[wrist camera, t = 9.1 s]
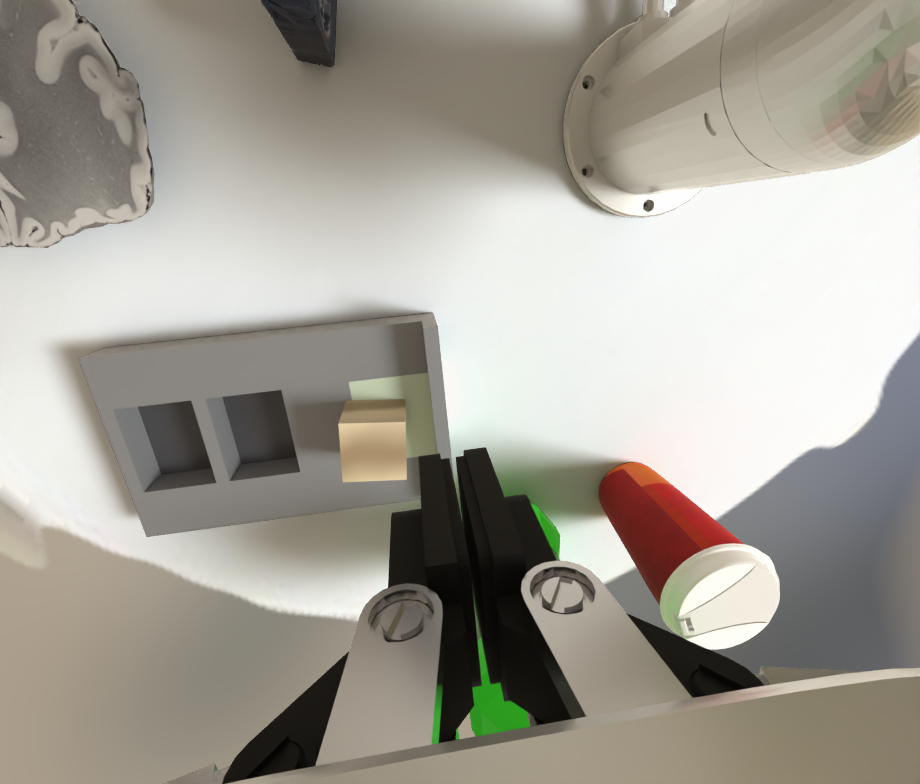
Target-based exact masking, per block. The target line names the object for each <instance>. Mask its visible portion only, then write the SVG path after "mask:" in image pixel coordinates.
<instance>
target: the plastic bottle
mask: <svg viewBox="0 0 920 784" xmlns="http://www.w3.org/2000/svg"><path fill="white" fill-rule="evenodd" d="M530 503H531V502H530ZM531 505H532V508H533V510H534V512H535V514H536V516H537V518H538V521H539V523H540V525H541V527H542V529H543V531H544V534H545V536H546V538H547V540H548V542H549V545H550V547H551V549H552V551H553V553H554V555H555V558H556V560H557V561H560V560H559V549H560V534H559V533H558V531H557V529H556V527H555V526H554V525H553V524H552V522H551V521H550V520H549V519H548V518H547V517H546V516H545V515H544V513H543V512H542V511H541V510H540V509H539V508H538V507H537V506H536V505H534V504H533V503H531ZM462 525H463V523H462ZM473 599H474V596H473ZM474 610H475V620H476V630H477V640H478V651H479V661H480V671H481V681H482V686H478V687H473V688H472V689H473V699H474V707H473V708H472V709H471V711H470V719H471V726H472V730H473V732H474V734H475V736H482V735H487V734H493V733H498V732H504V731H509V730H515V729H520V728H526V727H530V725H529V720H528V714H527V711H525V710H524V709H522V708H521V707H519V706H518V705H516V704H515V703H513V702H511V701H506V702H504V698H503V693H502V689H501V684H500V683H496V684H490V680H489V675H488V670H487V665H486V660H485V654H484V649H483V644H482V638H481V633H480V628H479V622H478V617H477V612H476V607H475V601H474Z"/></svg>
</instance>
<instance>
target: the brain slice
mask: <svg viewBox="0 0 920 784" xmlns="http://www.w3.org/2000/svg"><path fill="white" fill-rule="evenodd" d="M153 185H154V169H153V163H152V157H151V154H150V151H149V147H148V134H147V127H146V120H145V113H144V107H143V102H142V100H141V99H140V92H139V85H138V83H137V81H136V79H135V78H134V76H133V74H132V73H131V72H129V71H128V70H126V69H124V68H120V66H119V63H118V61H117V60H116V58H115V56H114V55H113V53H112V52H111V50H110V49H109V47H108V46H107V44H106V43H105V41H104V39H103V38H102V36H101V34H100V32H99V31H98V29H97V28H96V27H95V25H93V24H91V23H90V22H89V21H88V20H87V19H86V18H85V17H84V16H80V15H79V14H78V11H77V9H76V7H75V5H74V4H73V2H72V1H71V0H0V247H8V246H11V245H14V246H15V247H42V248H48V247H50V246H52V245H54V244H56V243H58V242H59V241H60V240H61V239H63V238H65V237H67V236H73V235H75V234H77V233H79V232H81V231H82V230H84V229H87V228H94V227H100V226H104V225H106V224H108V223H111V224H119V223H124V222H129V221H132V220H135V219H137V218H139V217H141V216H143V215H145V214H146V213H147V212H148V210H149V209H150V207H151V206H152V204H153V202H154V186H153Z"/></svg>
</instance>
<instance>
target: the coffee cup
mask: <svg viewBox="0 0 920 784" xmlns="http://www.w3.org/2000/svg"><path fill="white" fill-rule="evenodd" d="M598 494H599V500H600V503H601V506H602V508H603V510H604V511H605V513H606V515H607V517H608V519H609V520H610V522H611V524H612V525H613V527H614V529H615V531H616V532H617V534H618V536H619V537H620V539H621V541H622V542H623V544H624V546H625V548H626V549H627V551H628V553H629V554H630V556H631V558H632V560H633V561H634V563H635V565H636V567H637V568H638V570H639V572H640V574H641V575H642V577H643V579H644V581H645V583H646V584H647V586H648V588H649V589H650V591H651V592H652V594H653V596H654V597H655V599H656V601H657V602H658V604H659V605H660V612H661V616H662V618H663V620H664V622H665V624H666V625H667V626H668V627H669V628H670V629H671V630H672V631H673V632H674V633H676V634H678V635H680V636H682V637H683V638H684V639H686V640H688V641H690V642H693V643H695V644H697V645H699V646H702V647H704V648H706V649H724V648H728V647H732V646H735V645H738V644H741V643H742V642H745V641H747V640H748V639H750V638H752V637H753V636H755V635H756V634H757V633H759V632H760V631H761V630H762V629H763V628H764V627H765V626H766V625H767V624H768V622H769V621H770V620H771V618H772V616H773V615H774V613H775V611H776V609H777V607H778V603H779V599H780V591H779V579H778V576H777V574H776V572H775V568H774V566H773V563H772V561H771V559H770V558H769V557H768V556H767V555H765V554H763V553H762V552H760V551H758V550H757V549H756V548H753V547H751V546H749V545H744V544H743V543H742V542H740V541H739V540H738V539H737V538H736V537H735V536H733V535H732V534H731V533H730V532H728V531H727V530H726V529H725V528H723V527H722V526H721V525H720V524H719V523H718V522H716V521H715V520H714V519H713V518H712V517H710V516H709V515H708V514H707V513H706V512H704V511H703V510H702V509H701V508H699V507H698V506H697V505H696V504H695V503H693V502H692V501H691V500H690V499H688V498H687V497H686V496H685V495H684V494H682V493H681V492H680V491H679V490H678V489H676V488H675V487H674V486H673V485H671V484H670V483H669V482H668V481H666V480H665V479H664V478H663V477H661V476H660V475H659V474H658V473H656V472H655V471H654V470H652V469H651V468H649V467H648V466H646V465H644V464H641V463H636V462H631V463H625V464H622V465H619V466H617V467H615V468H614V469H612V470H611V471H610V472H609V473H608V474H607V475H606V476H605V477H604V479H603V480H602V482H601V484H600V487H599V493H598Z"/></svg>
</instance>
